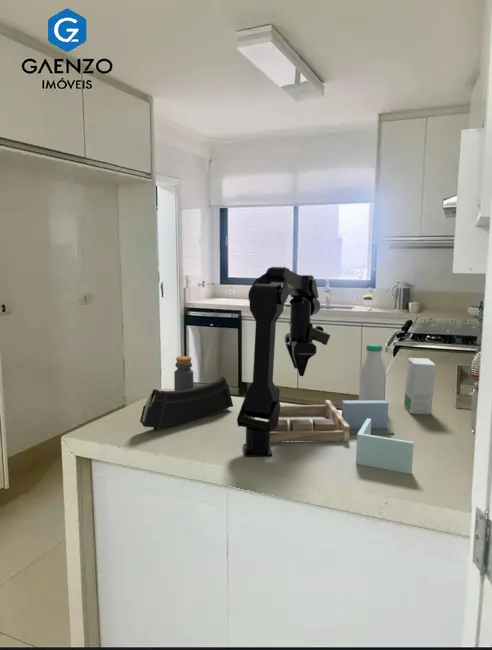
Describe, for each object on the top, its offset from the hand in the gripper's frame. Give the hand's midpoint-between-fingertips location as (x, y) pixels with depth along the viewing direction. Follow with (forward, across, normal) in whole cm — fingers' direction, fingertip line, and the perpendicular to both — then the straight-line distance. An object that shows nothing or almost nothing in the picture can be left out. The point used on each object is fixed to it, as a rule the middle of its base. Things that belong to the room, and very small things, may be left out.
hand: (298, 372), depth 140 cm
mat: (+13, -11, -16) cm, 24 cm away
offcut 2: (+13, -16, +2) cm, 21 cm away
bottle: (+13, +11, +34) cm, 38 cm away
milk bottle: (+13, +6, -24) cm, 28 cm away
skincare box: (+13, +4, -38) cm, 40 cm away
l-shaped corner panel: (+14, -31, -16) cm, 37 cm away
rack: (+13, -10, +2) cm, 17 cm away
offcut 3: (+13, -16, -4) cm, 21 cm away
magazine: (+13, -4, +31) cm, 34 cm away
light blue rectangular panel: (+13, -11, -16) cm, 24 cm away
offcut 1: (+13, -16, +8) cm, 23 cm away
